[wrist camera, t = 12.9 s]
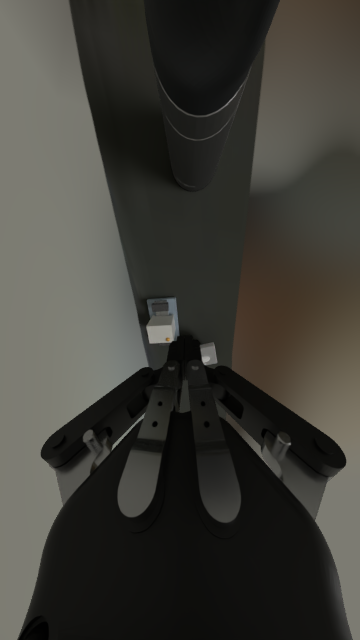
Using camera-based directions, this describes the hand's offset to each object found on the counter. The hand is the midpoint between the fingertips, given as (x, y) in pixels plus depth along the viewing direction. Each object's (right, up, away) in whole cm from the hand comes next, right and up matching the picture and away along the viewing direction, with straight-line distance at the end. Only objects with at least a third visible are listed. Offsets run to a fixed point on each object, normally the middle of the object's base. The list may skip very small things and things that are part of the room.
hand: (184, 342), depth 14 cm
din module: (-5, +2, +26) cm, 27 cm away
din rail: (-5, +2, +27) cm, 27 cm away
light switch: (+7, -7, +32) cm, 34 cm away
